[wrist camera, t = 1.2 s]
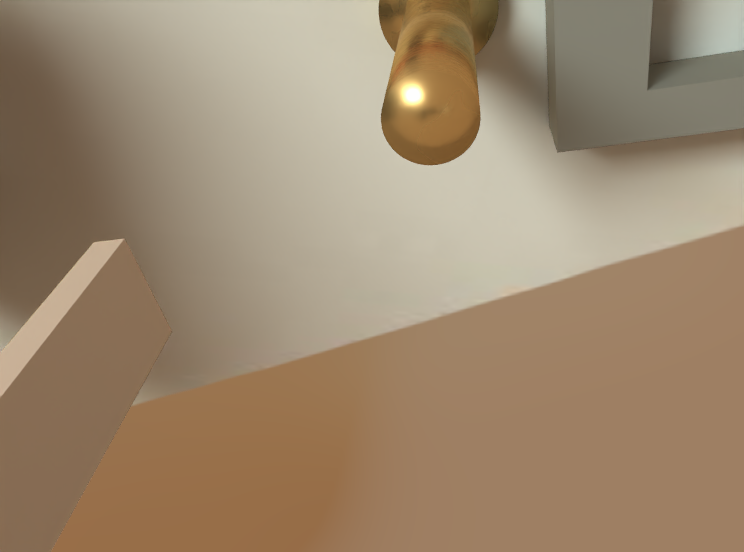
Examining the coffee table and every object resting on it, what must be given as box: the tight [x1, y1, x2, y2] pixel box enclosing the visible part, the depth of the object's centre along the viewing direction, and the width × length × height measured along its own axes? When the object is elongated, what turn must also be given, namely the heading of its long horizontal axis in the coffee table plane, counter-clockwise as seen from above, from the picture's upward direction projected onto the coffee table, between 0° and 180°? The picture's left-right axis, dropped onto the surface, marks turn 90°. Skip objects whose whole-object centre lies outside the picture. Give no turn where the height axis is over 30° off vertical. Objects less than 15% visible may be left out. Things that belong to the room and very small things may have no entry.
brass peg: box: [379, 0, 498, 165], centre depth 24 cm, size 6×6×14 cm
